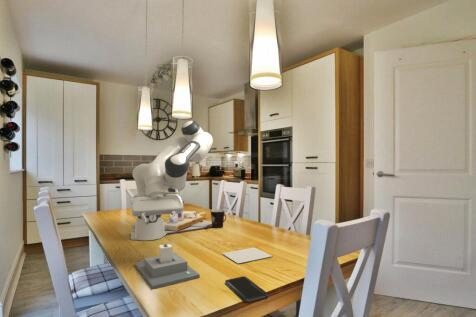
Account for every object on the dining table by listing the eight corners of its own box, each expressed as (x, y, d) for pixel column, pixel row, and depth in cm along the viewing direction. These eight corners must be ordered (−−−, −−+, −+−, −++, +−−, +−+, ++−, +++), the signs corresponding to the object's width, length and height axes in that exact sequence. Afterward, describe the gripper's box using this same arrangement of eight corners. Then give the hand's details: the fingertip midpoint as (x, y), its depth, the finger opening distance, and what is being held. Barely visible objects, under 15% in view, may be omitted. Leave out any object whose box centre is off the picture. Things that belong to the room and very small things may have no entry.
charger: (159, 267, 101) (159, 244, 101) (170, 265, 103) (170, 243, 103) (160, 271, 98) (160, 247, 98) (172, 269, 99) (172, 246, 99)
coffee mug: (209, 226, 172) (209, 209, 172) (222, 225, 175) (222, 209, 175) (213, 230, 161) (213, 213, 161) (227, 229, 164) (227, 212, 164)
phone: (245, 300, 77) (224, 280, 90) (245, 304, 77) (224, 283, 90) (269, 294, 81) (245, 275, 94) (269, 298, 81) (245, 279, 94)
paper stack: (287, 265, 107) (287, 263, 107) (230, 278, 94) (230, 276, 94) (254, 248, 127) (254, 247, 127) (203, 258, 115) (203, 256, 115)
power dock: (134, 265, 106) (134, 254, 106) (174, 257, 115) (174, 247, 115) (152, 289, 86) (152, 276, 86) (199, 277, 95) (199, 265, 95)
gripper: (130, 191, 112) (131, 219, 102) (181, 189, 119) (186, 215, 110) (130, 200, 116) (130, 229, 106) (179, 198, 124) (183, 224, 114)
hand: (159, 222), depth 108 cm, fingers open, 8 cm apart
